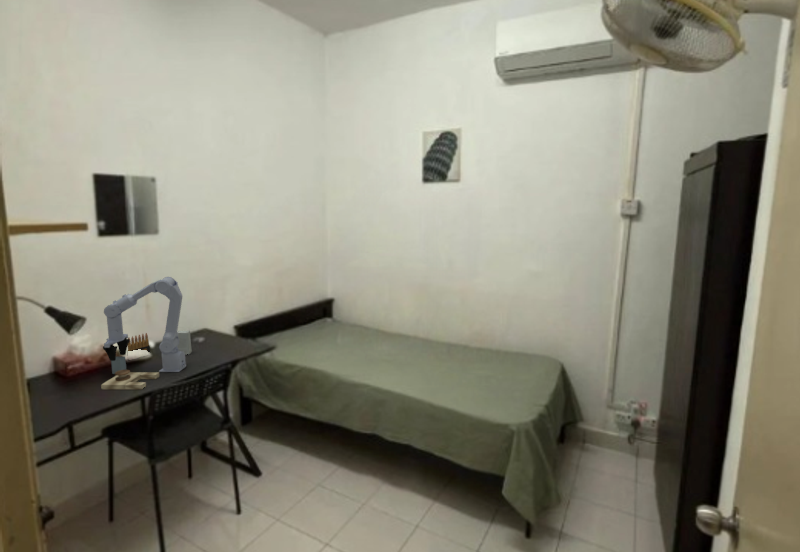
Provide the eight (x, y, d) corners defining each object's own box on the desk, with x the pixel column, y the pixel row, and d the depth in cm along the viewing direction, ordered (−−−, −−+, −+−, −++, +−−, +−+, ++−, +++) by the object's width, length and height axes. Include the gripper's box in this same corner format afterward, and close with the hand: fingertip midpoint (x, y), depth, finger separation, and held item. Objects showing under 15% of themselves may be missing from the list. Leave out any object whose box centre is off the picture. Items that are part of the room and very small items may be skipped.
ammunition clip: (129, 360, 216) (127, 337, 214) (127, 360, 217) (125, 337, 215) (150, 354, 225) (149, 332, 223) (148, 354, 226) (146, 332, 224)
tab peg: (126, 370, 203) (125, 356, 202) (121, 373, 199) (119, 359, 198) (117, 370, 203) (116, 356, 202) (112, 373, 199) (111, 359, 198)
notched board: (159, 376, 197) (158, 366, 196) (142, 389, 183) (141, 378, 182) (121, 376, 196) (120, 366, 196) (101, 389, 183) (100, 378, 182)
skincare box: (191, 352, 230) (190, 330, 228) (189, 354, 226) (187, 332, 224) (179, 352, 229) (178, 330, 227) (176, 355, 225) (175, 333, 223)
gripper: (116, 324, 205) (118, 352, 207) (95, 333, 191) (98, 363, 193) (131, 325, 205) (133, 352, 207) (112, 334, 191) (114, 363, 193)
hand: (117, 357), depth 200 cm, fingers open, 7 cm apart
